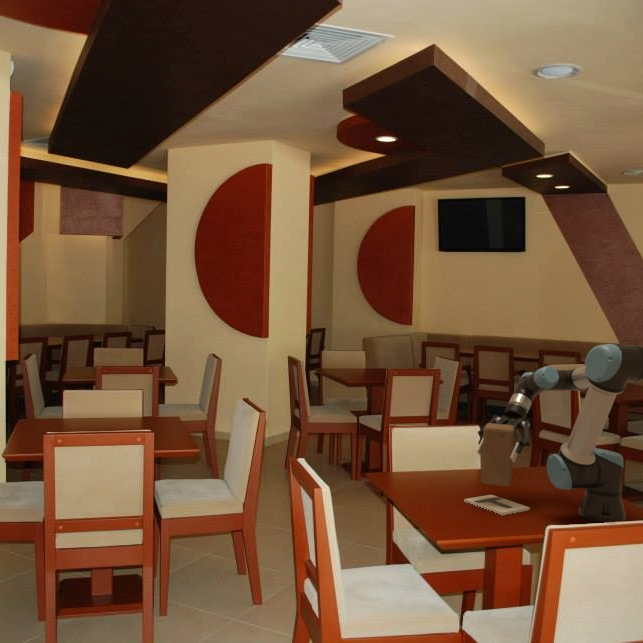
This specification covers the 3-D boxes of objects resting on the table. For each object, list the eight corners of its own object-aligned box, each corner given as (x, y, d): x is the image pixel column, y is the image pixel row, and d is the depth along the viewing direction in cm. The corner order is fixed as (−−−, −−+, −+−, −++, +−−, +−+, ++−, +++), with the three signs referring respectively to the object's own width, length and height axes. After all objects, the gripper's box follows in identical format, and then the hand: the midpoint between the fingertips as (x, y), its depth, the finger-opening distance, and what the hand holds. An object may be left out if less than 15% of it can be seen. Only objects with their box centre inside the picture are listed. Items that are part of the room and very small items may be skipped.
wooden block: (509, 487, 269) (512, 429, 268) (480, 483, 272) (483, 427, 271) (511, 480, 278) (515, 425, 277) (483, 476, 281) (486, 422, 280)
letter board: (529, 510, 272) (529, 506, 272) (501, 515, 264) (502, 512, 264) (491, 497, 286) (491, 494, 286) (463, 501, 279) (464, 498, 278)
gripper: (551, 420, 278) (530, 469, 267) (490, 410, 294) (467, 456, 283) (546, 407, 274) (524, 456, 263) (484, 398, 289) (461, 443, 279)
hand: (495, 456), depth 273 cm, fingers closed on wooden block, 12 cm apart
